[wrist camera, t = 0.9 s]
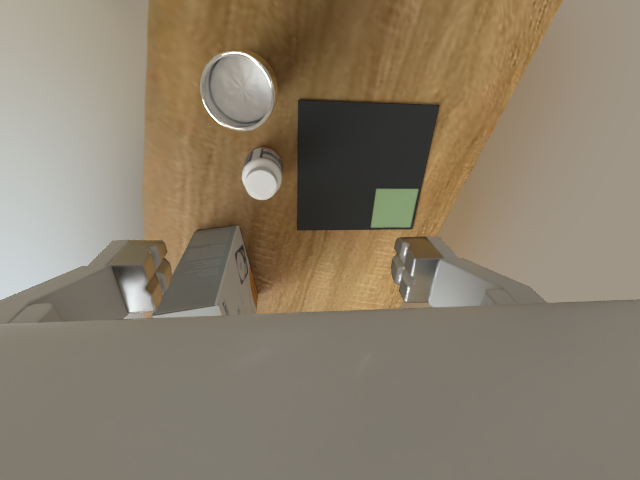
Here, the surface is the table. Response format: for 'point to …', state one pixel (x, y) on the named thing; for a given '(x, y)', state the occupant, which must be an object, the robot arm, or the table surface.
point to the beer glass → (239, 89)
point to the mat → (361, 163)
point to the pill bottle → (262, 173)
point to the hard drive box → (211, 278)
